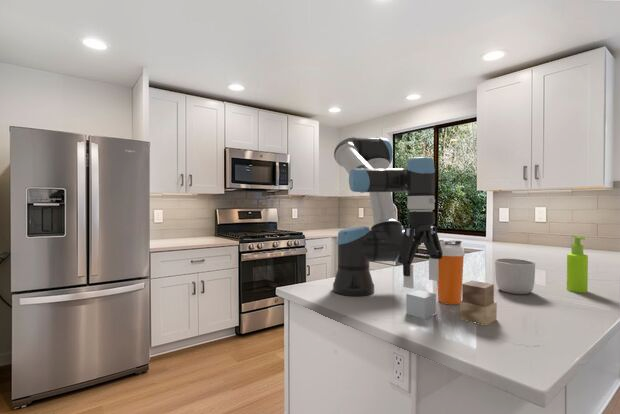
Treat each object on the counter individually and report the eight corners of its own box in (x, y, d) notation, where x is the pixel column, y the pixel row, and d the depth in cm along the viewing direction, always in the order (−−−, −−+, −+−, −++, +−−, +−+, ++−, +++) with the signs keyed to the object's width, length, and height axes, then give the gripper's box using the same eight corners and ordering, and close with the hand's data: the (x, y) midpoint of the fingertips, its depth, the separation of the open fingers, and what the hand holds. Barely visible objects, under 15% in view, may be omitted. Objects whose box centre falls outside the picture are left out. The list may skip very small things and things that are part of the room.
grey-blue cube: (406, 313, 98) (406, 293, 98) (417, 309, 102) (417, 289, 102) (424, 319, 93) (424, 298, 93) (435, 314, 97) (435, 294, 97)
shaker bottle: (467, 306, 104) (467, 242, 103) (437, 305, 105) (437, 242, 105) (460, 298, 112) (460, 239, 112) (432, 297, 114) (432, 238, 114)
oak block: (459, 319, 93) (460, 301, 93) (470, 313, 98) (470, 296, 98) (486, 326, 88) (486, 307, 88) (496, 319, 93) (496, 302, 92)
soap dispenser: (570, 292, 118) (571, 236, 118) (564, 287, 124) (564, 234, 124) (591, 294, 116) (592, 237, 115) (583, 289, 122) (584, 235, 122)
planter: (512, 285, 128) (512, 257, 128) (543, 294, 116) (543, 263, 116) (487, 288, 124) (487, 259, 124) (517, 297, 113) (517, 265, 112)
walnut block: (462, 301, 93) (462, 283, 93) (471, 297, 97) (471, 280, 97) (484, 306, 88) (484, 288, 88) (493, 302, 92) (493, 284, 92)
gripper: (408, 211, 86) (408, 293, 86) (454, 210, 102) (454, 279, 102) (384, 211, 92) (385, 288, 92) (431, 210, 108) (431, 275, 108)
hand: (421, 283), depth 97 cm, fingers open, 13 cm apart
